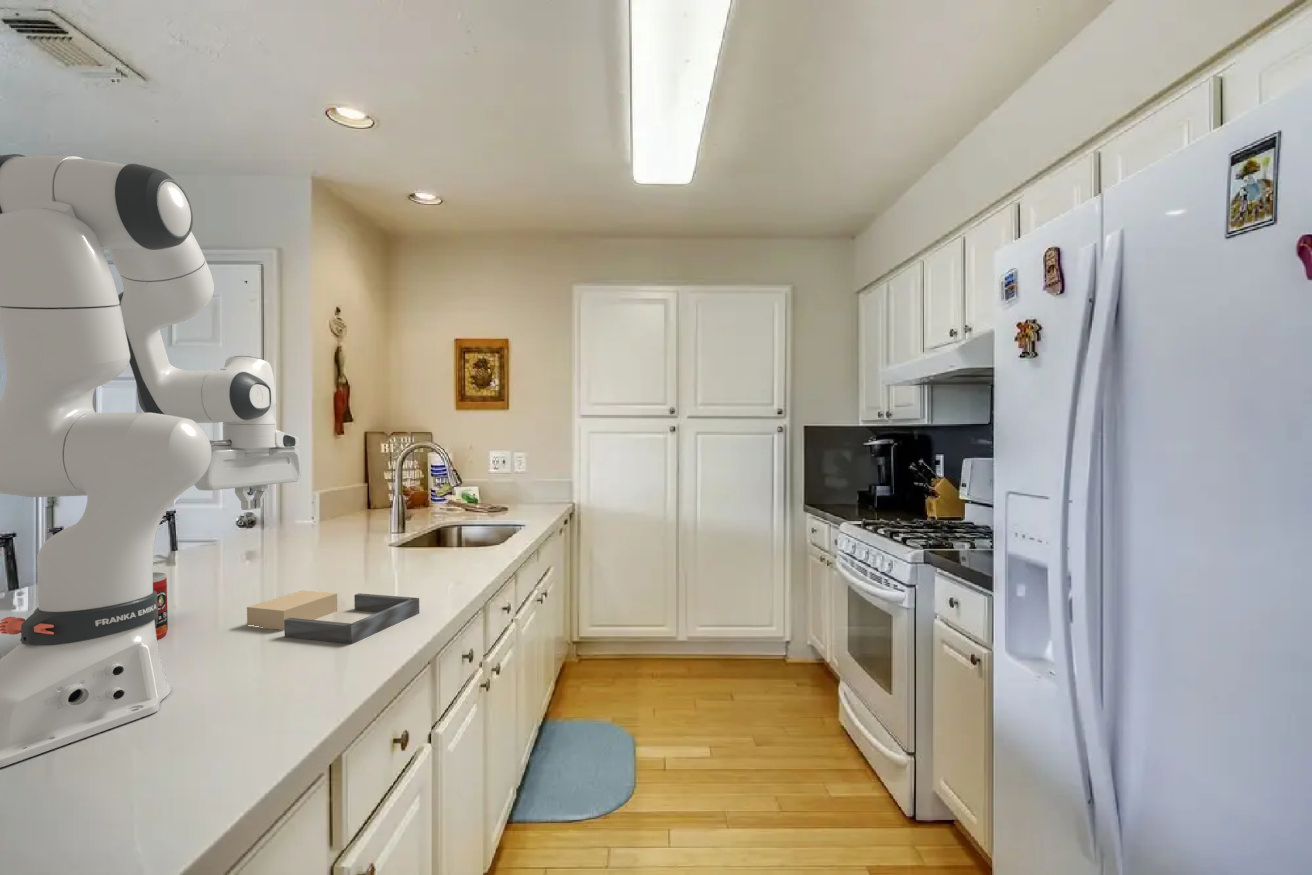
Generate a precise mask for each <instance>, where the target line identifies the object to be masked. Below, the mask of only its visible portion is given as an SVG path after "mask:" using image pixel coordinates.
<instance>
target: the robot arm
mask: <svg viewBox="0 0 1312 875" xmlns="http://www.w3.org/2000/svg"><path fill="white" fill-rule="evenodd" d="M193 218H194V216H193V209H192V206H191V202H190V199H189V197H188V195H187V193H186V191H185V190H184V189H183V187H182V186H181V185H180V184H179V183H178V182H177V181H176V180H175V179H174V178H173V177H171V175H169V174H168V173H166V172H165V171H163V170H160V169H157V168H154V167H151V166H147V165H143V164H138V163H128V164H124V163H120V162H113V161H106V160H99V159H98V160H96V159H92V158H91V159H89V158H83V157H79V156H74V155H73V156H72V155H71V156H69V155H28V156H26V155H23V154H21V153H20V154H18V153H11V154H2V155H0V334H1V340H2V344H3V349H4V355H5V360H6V372H7V373H6V382H5V387H4V390H3V394H2V396H1V397H0V494H4V495H10V496H19V497H25V498H26V497H27V498H52V497H53V498H55V497H56V498H57V497H84V496H86V497H87V498H86V500H87V501H86V506H85V508H84V512H83V514H82V516H81V517H80V519H78V521H77V523H75V524H72V525H70V526H68V527H67V528H63V529H62V530H61V531H58V532H56V533H55V534H52V535H51V536H50V537H49V538H47V540H46V541H45V542H44V543H42V546H41V547H40V549H39V551H38V553H37V556H36V557H37V558H36V565H37V596H38V598H37V599H38V601H37V605H38V606H37V607H36V608H35V610H34V611H33V612H32V614H31V615H30V616H28V617H27V618H26V619H25V618H23V617H16V616H7V617H4V618H2V619H0V634H5V635H7V634H8V635H13V636H15V635H19V634H20V640H19V641H20V642H19V644H17V645H16V646H15V647H14V648H13V649H12V650H10V651H9V652H7V654H6V655H4V656H3V657H2V658H0V768H3V767H6V766H9V765H12V764H14V763H17V762H20V761H23V760H26V759H29V758H31V757H34V756H37V755H39V754H42V753H46V752H48V751H51V750H55V749H57V748H60V747H62V746H65V745H68V744H70V743H71V744H72V743H74V742H76V741H80V740H82V739H85V738H88V737H91V736H92V735H96V734H100V733H101V732H104V731H107V730H109V729H113V728H115V727H118V726H122V725H124V724H127V723H130V722H132V721H135V720H138V719H141V718H143V717H147V716H149V715H151V714H154V713H156V712H157V711H159V710H160V706H161V705H160V703H161V701H163V699H165V698H166V697H167V696H168V695H169V694H170V692H171V690H172V687H171V685H170V683H169V681H168V678H167V676H166V674H165V670H164V666H163V663H162V660H161V656H160V655H161V654H160V650H159V646H158V640H157V637H156V630H155V628H156V625H157V619H158V602H157V592H156V591H154V590H153V572H154V552H155V540H156V534H157V532H158V529H159V525H160V524H161V522H162V520H163V517H164V515H165V514H166V513H167V511H168V509H169V508H170V507H171V505H172V504H173V502H174V501H175V500H176V499H178V497H180V495H182V494H183V493H184V492H186V490H188V489H190V488H191V487H193V486H194V487H195V488H196V489H197V490H198V491H217V490H219V491H221V490H229V489H234V494H235V496H236V497H237V498H238V499H239V501H240V507H241V510H243V511H250V510H257V509H262V508H263V500H264V498H265V496H266V495H267V493H268V490H269V486H270V485H279V484H286V483H287V484H288V483H289V484H290V483H298V481H299V480H300V478H301V477H302V461H301V454H300V451H299V450H298V449H297V448H298V447H299V446H300V438H299V437H298V436H295V435H293V434H289V433H287V432H283V431H281V430H278V429H277V426H278V424H277V419H276V418H275V417H276V416H275V408H276V404H277V392H276V383H275V377H274V376H275V375H274V372H273V368H272V365H271V363H270V362H269V361H267V360H265V359H263V358H260V357H253V356H249V355H233V356H230V357H228V358H226V359H225V363H224V367H223V368H219V369H213V370H207V369H205V370H203V369H202V370H201V369H200V370H197V369H196V370H195V369H194V370H193V369H192V370H191V369H190V370H187V369H181V368H178V367H176V366H175V365H174V366H173V365H172V364H171V363H170V361H169V356H168V354H167V350H166V347H165V344H164V340H163V337H162V333H161V330H162V329H163V328H166V327H169V326H172V325H175V324H179V323H181V322H185V321H187V320H189V319H191V318H192V317H195V316H196V315H198V314H199V313H200V312H202V311H204V309H205V308H206V307H208V305H209V304H210V302H211V300H212V299H213V295H214V292H215V282H214V279H213V276H212V275H213V274H212V272H211V270H210V267H209V265H208V262H207V260H206V257H205V255H204V253H203V251H202V249H201V246H200V245H199V243H198V240H197V239H196V237H195V236H194V233H193V232H192V229H193V226H194V225H193V223H194V220H193ZM105 250H108V253H109V256H110V258H111V260H112V262H113V265H114V266H115V268H116V271H117V272H118V274H119V277H120V279H121V281H122V285H123V291H122V292H120V293H119V294H118V290H117V286H116V283H115V279H114V277H113V274H112V273H113V272H112V270H111V268H110V265H109V262H108V260H107V258H106V255H105ZM128 365H130V368H131V371H132V374H133V377H134V379H135V384H136V393H137V400H138V403H139V407H140V408H141V410H142V411H143V412H96V411H95V409H94V405H93V404H94V402H93V400H94V399H93V398H94V393H95V390H96V388H99V387H100V386H103V385H105V384H108V383H109V382H110V381H113V380H115V379H116V378H118V377H119V376H120V375H122V374H123V373H124V372H125V370H126V368H127V367H128ZM211 423H213V424H215V423H216V424H219V423H222V440H221V439H220V440H212V439H211V440H210V438H209V437H208V435H207V433H206V432H205V430H204V429H203V427H201V426H200V425H199V424H211ZM251 487H253V491H255V493H254V495H253V498H252V499H251V498H250V496H249V494H248V493H250V491H251V490H250V488H251Z"/></svg>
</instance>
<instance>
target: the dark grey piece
mask: <svg viewBox="0 0 1312 875" xmlns="http://www.w3.org/2000/svg"><path fill="white" fill-rule="evenodd" d="M353 597H354V599H353V600H354V610H356V611H365V612H366V611H368V612H377V613H373V614H371V615H368V616H367V617H363V618H361V619H359V620H357V621H354V622H352V623H351V622H349V623H348V622H341V621H340V622H339V621H328V620H317V619H315V620H309V619H298V618H288V619H285V620H284V637H285V638H292V639H293V638H295V639H303V640H313V641H314V640H315V641H321V642H322V641H323V642H331V643H341V644H342V643H343V644H351V645H353V644H355V643H357V642H359V641H362V640H364V639H366V638H368V637H370V636H372V635H375V634H377V633H379V632H381V631H383V630H385V629H387V628H389V627H392V626H395V625H397V624H399V623H401V622H403V621H405V620H408V619H410V618H412V617H415V616H417V615H418V614H420V597H409V596H398V595H395V596H394V595H387V594H386V595H385V594H371V593H356V594H354V596H353Z"/></svg>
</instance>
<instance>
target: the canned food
mask: <svg viewBox="0 0 1312 875" xmlns="http://www.w3.org/2000/svg"><path fill="white" fill-rule="evenodd" d="M167 577H168V576H167V573H165V572H155V571H153V590H154V591H156V592H157V602H158V619H157V625H156V628H155V630H156V637H157V641H158V640H160V639H163V638H164V637H166V636H167V632H168V630H169V629H168V627H169V626H168V625H169V622H168V621H169V620H168V618H169V617H168V582H167V581H168V580H167V579H168V578H167Z"/></svg>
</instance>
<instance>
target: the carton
mask: <svg viewBox="0 0 1312 875" xmlns="http://www.w3.org/2000/svg"><path fill="white" fill-rule="evenodd" d="M336 612H338V593H336V592H324V591H315V590H313V591H312V590H302V589H301V590H299V591H296V592H293V593H290V594H287V595H283V596H279V597H276V598H273V599H269V600H266V601H263V602H259V603H257V604H252V605H250V606H247V607H246V620H247V621H246V622H247V624H246V625H254V626H259V627H263V628H262V629H265V628H269V629H268V630H274V629H280V630H279V631H283V630H284V620H285V619H288V618H298V619H309V620H317V619H319V618H323V617H325V616H329V615H331V614H333V613H336Z"/></svg>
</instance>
